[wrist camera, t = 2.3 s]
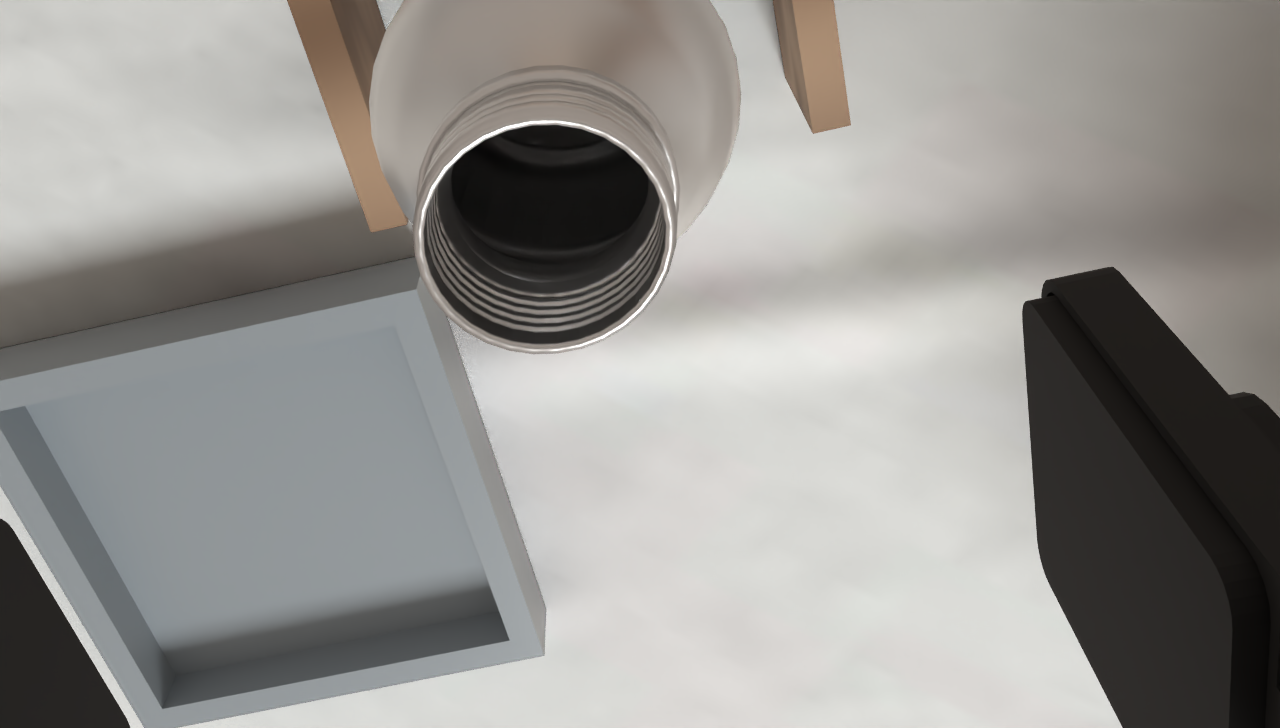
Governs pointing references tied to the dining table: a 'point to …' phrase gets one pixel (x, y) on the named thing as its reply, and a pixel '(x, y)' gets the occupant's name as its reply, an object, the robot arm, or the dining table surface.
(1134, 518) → the robot arm
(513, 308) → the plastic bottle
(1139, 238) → the dining table surface
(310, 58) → the walnut bay
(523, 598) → the grey square tray
